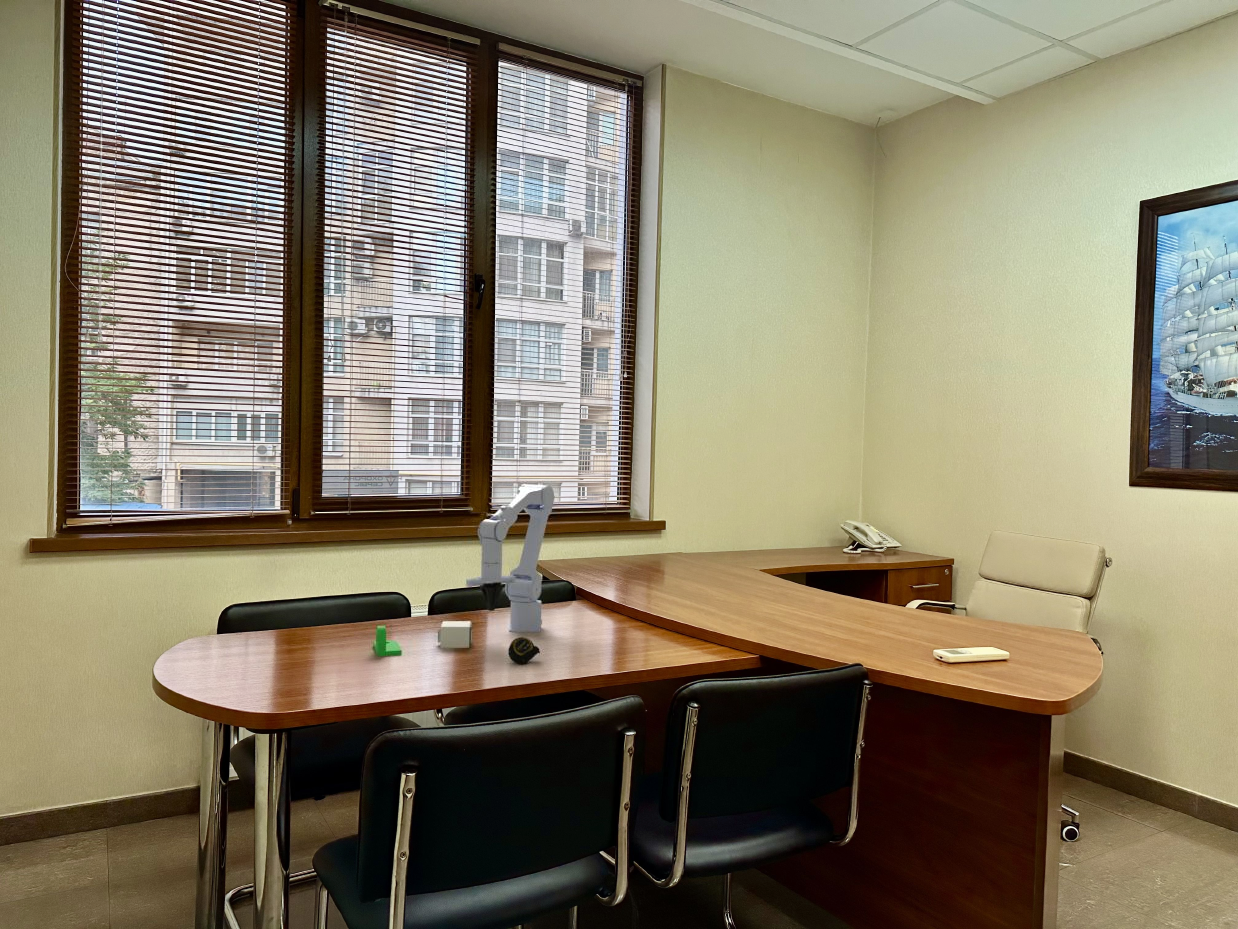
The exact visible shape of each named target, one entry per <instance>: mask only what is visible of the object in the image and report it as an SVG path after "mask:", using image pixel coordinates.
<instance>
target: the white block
mask: <svg viewBox="0 0 1238 929" xmlns="http://www.w3.org/2000/svg"><path fill="white" fill-rule="evenodd" d="M440 626H441V627H440V629H441V643H440V649H467V648H468V649H469V648H471V647H472V642H473V641H472V640H471V629H472V630H473V622H471V621H470V620H466V621H465V620H464V621H462V620H457V621H456V620H455V621H454V620H450V621H447V620H446V621H445V620H443V621H442V623H441V625H440Z"/></svg>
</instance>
